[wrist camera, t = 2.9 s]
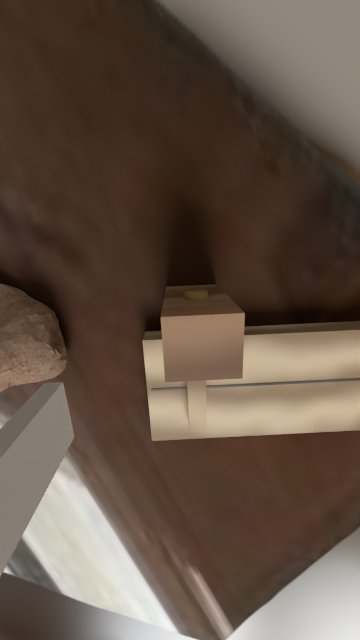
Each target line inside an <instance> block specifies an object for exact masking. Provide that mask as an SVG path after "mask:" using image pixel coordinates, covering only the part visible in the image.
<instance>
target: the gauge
mask: <svg viewBox="0 0 360 640" xmlns="http://www.w3.org/2000/svg"><path fill="white" fill-rule="evenodd" d="M244 323H245V313H244V312H243V311H242V310H241V309H240V308H239V307H238V306H237V305H236V304H235V303H234V302H233V301H232V300H231V299H230V298H229V297H228V296H227V295H226V293H225V292H224V291H223V290H222V289H221V288H220V287H219V286H218V285H217V284H211V285H189V286H168V287H166V290H165V296H164V301H163V306H162V312H161V331H162V345H163V359H164V373H165V382H183V381H187V399H188V423H189V432H206V431H207V393H206V380H223V379H242V378H243V351H244Z"/></svg>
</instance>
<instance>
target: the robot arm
mask: <svg viewBox="0 0 360 640" xmlns="http://www.w3.org/2000/svg"><path fill="white" fill-rule="evenodd" d="M73 439H74V433H73V428H72V423H71V419H70V414H69V409H68V404H67V399H66V395H65V390H64V385H63V382H59V383H44V384H43V385H42V386H41V387H40V388H39V389H38V390H37V391H36V392H35V394H34V395H33V396H32V397H31V398H30V399H29V400H28V401H27V402H26V403H25V404H24V405H23V406H22V407H21V408H20V409H19V410H18V411H17V412H16V414H15V415H14V416H13V417H12V418H11V419H10V420H9V421H8V422H7V423H6V424H5V425H4V426H3V427H2V428H1V429H0V576H1V574H2V572H3V571H4V569H5V567H6V565H7V563H8V561H9V559H10V557H11V555H12V554H13V552H14V550H15V548H16V546H17V544H18V542H19V540H20V538H21V537H22V535H23V533H24V531H25V529H26V527H27V525H28V523H29V521H30V520H31V518H32V516H33V514H34V512H35V510H36V508H37V506H38V505H39V503H40V501H41V499H42V497H43V495H44V493H45V491H46V489H47V488H48V486H49V484H50V482H51V480H52V478H53V476H54V474H55V472H56V471H57V469H58V467H59V465H60V463H61V461H62V459H63V457H64V455H65V454H66V452H67V450H68V448H69V446H70V444H71V442H72V440H73Z"/></svg>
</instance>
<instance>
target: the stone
mask: <svg viewBox="0 0 360 640" xmlns="http://www.w3.org/2000/svg"><path fill="white" fill-rule="evenodd" d="M67 363H68V352H67V350H66V347H65V343H64V340H63V336H62V333H61V330H60V328H59V320H58V319H57V317H56V315H55V312H54V311H52V310H51V309H50V308H49V307H47V306H46V305H44V304H43V303H41V302H39V301H37V300H35V299H33V298H31V297H30V296H28V295H27V294H26V293H25V292H23V291H22V290H20V289H17V288H14V287H11V286H8V285H5V284H1V283H0V392H1V391H3V390H5V389H7V388H8V387H9V386H13V385H17V386H18V385H20V384H25V383H32V382H39V381H44V380H47V379H50V378H54V377H56V376H57V375H58V374H61V373H62V371H63V370H64V369H65V367H66V365H67Z"/></svg>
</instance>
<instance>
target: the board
mask: <svg viewBox="0 0 360 640" xmlns="http://www.w3.org/2000/svg"><path fill="white" fill-rule="evenodd" d="M142 341H143V351H144V361H145V372H146V382H147V393H148V403H149V413H150V424H151V434H152V441H157V440H176V439H195V438H215V437H234V436H254V435H273V434H292V433H312V432H331V431H350V430H360V321H350V322H330V323H309V324H288V325H268V326H247V327H244V351H243V378H242V379H223V380H206V393H207V431H206V432H189V423H188V399H187V381H183V382H165V373H164V359H163V345H162V331H145V334H144V337H143V340H142Z"/></svg>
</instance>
